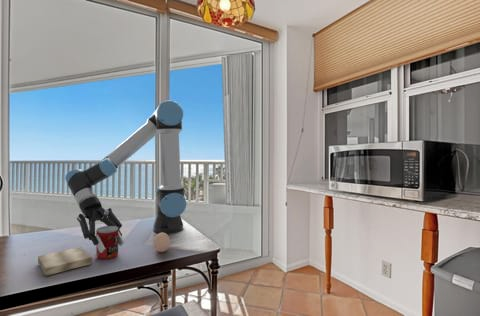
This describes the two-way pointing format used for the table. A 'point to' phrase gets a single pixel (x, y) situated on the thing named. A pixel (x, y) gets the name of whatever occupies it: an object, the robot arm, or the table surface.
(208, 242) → the table surface
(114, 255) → the canned food
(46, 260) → the maple stand
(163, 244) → the egg
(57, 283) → the table surface
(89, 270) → the table surface
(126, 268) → the table surface
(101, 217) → the robot arm
